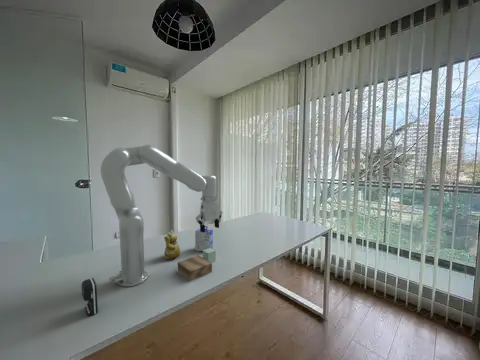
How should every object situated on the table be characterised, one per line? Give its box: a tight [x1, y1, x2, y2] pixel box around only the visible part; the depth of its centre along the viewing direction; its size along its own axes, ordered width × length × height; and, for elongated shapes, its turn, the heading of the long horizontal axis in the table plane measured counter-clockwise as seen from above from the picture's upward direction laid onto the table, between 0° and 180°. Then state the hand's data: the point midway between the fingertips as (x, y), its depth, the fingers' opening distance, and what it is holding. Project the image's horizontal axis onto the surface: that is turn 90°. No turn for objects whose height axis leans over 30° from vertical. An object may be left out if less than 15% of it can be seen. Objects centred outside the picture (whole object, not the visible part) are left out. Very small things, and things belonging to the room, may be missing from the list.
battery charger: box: [80, 277, 99, 317], centre depth 78 cm, size 7×4×11 cm, turn 44°
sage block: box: [202, 248, 217, 264], centre depth 118 cm, size 5×5×6 cm
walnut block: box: [177, 255, 213, 282], centre depth 107 cm, size 12×12×5 cm
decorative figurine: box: [163, 229, 181, 261], centre depth 122 cm, size 10×8×15 cm
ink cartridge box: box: [194, 225, 214, 252], centre depth 132 cm, size 10×6×14 cm, turn 78°
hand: (209, 229), depth 117 cm, fingers open, 9 cm apart
